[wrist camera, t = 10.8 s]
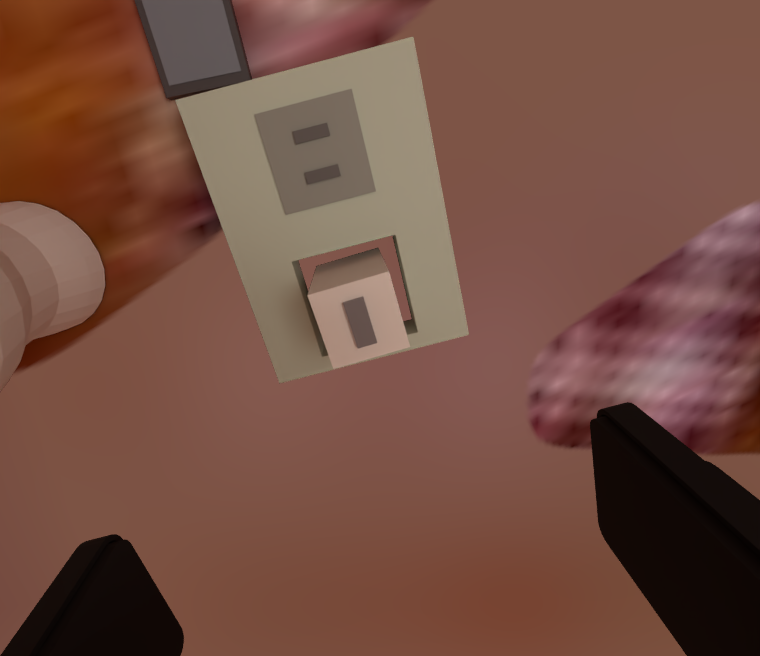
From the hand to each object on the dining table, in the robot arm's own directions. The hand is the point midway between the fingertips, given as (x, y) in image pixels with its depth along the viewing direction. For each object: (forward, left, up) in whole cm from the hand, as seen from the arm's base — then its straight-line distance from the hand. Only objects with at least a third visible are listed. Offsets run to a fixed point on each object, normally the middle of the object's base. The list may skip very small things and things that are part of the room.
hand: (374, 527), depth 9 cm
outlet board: (-4, 0, -20) cm, 20 cm away
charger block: (0, 0, -20) cm, 20 cm away
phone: (-16, -4, -21) cm, 27 cm away
